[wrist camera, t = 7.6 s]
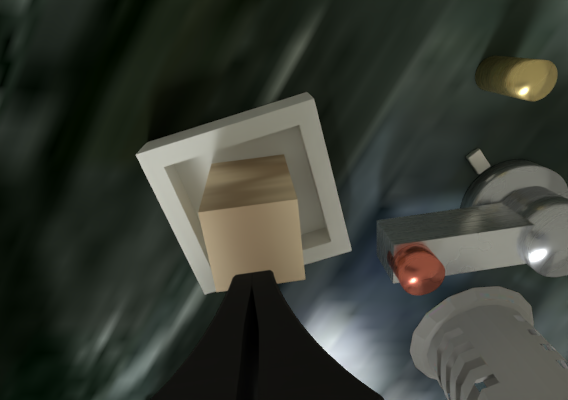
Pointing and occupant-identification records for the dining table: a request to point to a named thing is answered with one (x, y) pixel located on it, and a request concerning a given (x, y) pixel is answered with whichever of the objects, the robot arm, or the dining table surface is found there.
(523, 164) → the crank base
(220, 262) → the block
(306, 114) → the tray
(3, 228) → the dining table surface
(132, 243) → the dining table surface
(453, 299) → the french press
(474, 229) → the crank
